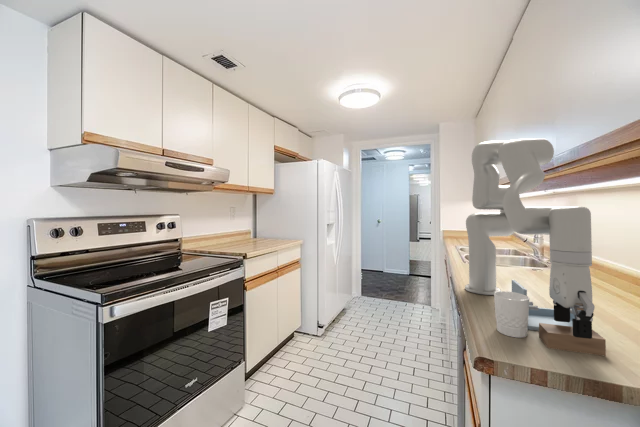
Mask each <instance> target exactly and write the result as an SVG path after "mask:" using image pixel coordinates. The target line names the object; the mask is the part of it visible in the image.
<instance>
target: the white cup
mask: <svg viewBox="0 0 640 427" xmlns="http://www.w3.org/2000/svg"><path fill="white" fill-rule="evenodd" d="M493 297H494V298H493V300H494V302H493V303H494V315H495V321H496V322H495V323H496V330H497V332H499V333H500V334H502V335H504V336H506V337H507V336H508V337H510V338H511V337H512V338H517V339H518V338H519V339H520V338H526V337H527V336H528V329H527V326H528V318H529V301H530V299H531V298H530V297H529V296H528V295H527V296H526V295H523V294H520V293H515V292H512V291H508V290H506V291H503V290H501V291H499V292H495V293H494V295H493Z"/></svg>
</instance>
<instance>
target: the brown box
mask: <svg viewBox="0 0 640 427" xmlns="http://www.w3.org/2000/svg"><path fill="white" fill-rule="evenodd" d="M538 337H539V339H540V340H541V341H542V343H543V344H544V345H545V346H546V348H548V349H553V350H561V351H569V352H575V353H583V354H588V355H589V354H590V355H594V356H595V355H598V356H602V355H604V357H606V356H607V355H606V353H607V350H606V348H607V347H606V346H607V345H606V342H607V341H606V339H605V338H604V336H602V335H601V334H599V333H598V332H596V331H595V330H593V329H592V338H591V339H588V338H579V337H575V336H573V327H571V326H562V325H553V324H544V323H539V331H538Z"/></svg>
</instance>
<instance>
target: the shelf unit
mask: <svg viewBox="0 0 640 427" xmlns="http://www.w3.org/2000/svg"><path fill="white" fill-rule="evenodd" d="M511 292H515V293H520V294H523V295H526V296H528V289H527V288H525V286H523V285H522V284H520V283H519V282H518V281H517V280H515V279H511ZM578 306H579V305H578ZM580 312H581V310H578V313H580ZM572 318H573V319H575V317H574V314H573V311H572V309H571V307H570V322H559V321H555V320H554V308H548V307H538V305H534V302H533V301H531V300H529V318H528V326H527V330H528V331H529V330H531V331H538V332H539V323H544V324H553V325H562V326H571V327H573V319H572Z"/></svg>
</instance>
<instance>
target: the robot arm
mask: <svg viewBox="0 0 640 427" xmlns="http://www.w3.org/2000/svg"><path fill="white" fill-rule="evenodd" d="M554 155H555V150H554V146H553V144H552V142H551V141H550V140H548V139H546V138H542V137H541V138H537V137H536V138H518V139H510V140H508V139H507V140H487V141H483V142H480V143H477V144H476V145H475V146H474V148H473V150H472V153H471V164H472V165H471V166H472V171H473V186H472V197H471V202H472V206H473V207H474V208H475V209H476V210H480V211H481V210H483V211H497V210H498V211H499V212H474V213H471V214H470V215H468V216H467V217H466V220H465V228H466V231H467V232H466V233H467V239H468V282H469V283H467V284H465V286H464V289H465V290H466V291H467V292H471V293H473V294H477V295H484V296H485V295H486V296H494V293H495V292H499V291H502V290H501V288H499V287H498V286H497V249H496V245H495V243H494V242H493V241H492V240H491V238H490V237H508V236H511V235H514V234H515V233H517V234H519V235H525V236H526V235H528V236H529V235H539V236H540V235H547V236H548V235H549V237H548V238H549V263H550V270H549V288H548V290H549V292H548V293H549V297H550V299H551V300H552V304H553V309H554V320H555V321H559V322H570V307H571V309H572V311H573V314H574V317H575V319H573V318H572V319H573V336H575V337H579V338H588V339H591V338H592V330H593V322H594V318H593V317H594V315H595V314H594V311H595V309H596V307H595V306H596V305H595V304H594V303H593V286H592V278H591V271H590V267H592V266H593V251H592V248H593V247H592V246H593V245H592V242H593V241H592V214H591V213H592V212H591V210H590V209H589V208H588V207H585V206H524V204H523V203H522V200H521V197H520V195H521V194H523V193H526V192H527V191H530V190H533V189H535V188H536V187H538V186H539V185H541V184H542V183H543V181H544V180H545V178H546V174H545V171H544V170H543V169H542V166H545V165H548V164H549V163H550V162H551V161H552V160H553V158H554ZM496 165H498V166H499V165H501V166H502V168H503V170H504V172H505V175H506V178H507V179H508V182H509V184H510V185H500V179H501V178H500V177H501V176H500V171H499V170H498V168H497V167H496ZM578 305H579V306H578ZM578 310H581V312H580V313H578Z"/></svg>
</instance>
